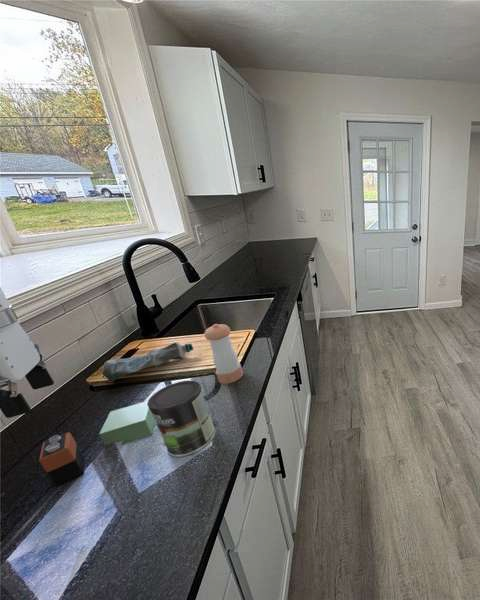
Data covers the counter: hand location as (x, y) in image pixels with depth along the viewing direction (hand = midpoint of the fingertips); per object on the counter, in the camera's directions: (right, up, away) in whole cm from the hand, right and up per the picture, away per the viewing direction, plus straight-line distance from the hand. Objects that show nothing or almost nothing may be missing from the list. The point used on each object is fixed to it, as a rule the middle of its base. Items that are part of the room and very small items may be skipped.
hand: (32, 399), depth 62 cm
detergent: (-13, -4, +48) cm, 50 cm away
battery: (+1, -19, +7) cm, 21 cm away
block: (+4, -14, +19) cm, 24 cm away
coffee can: (+22, -15, +15) cm, 31 cm away
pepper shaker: (+18, -6, +40) cm, 44 cm away
